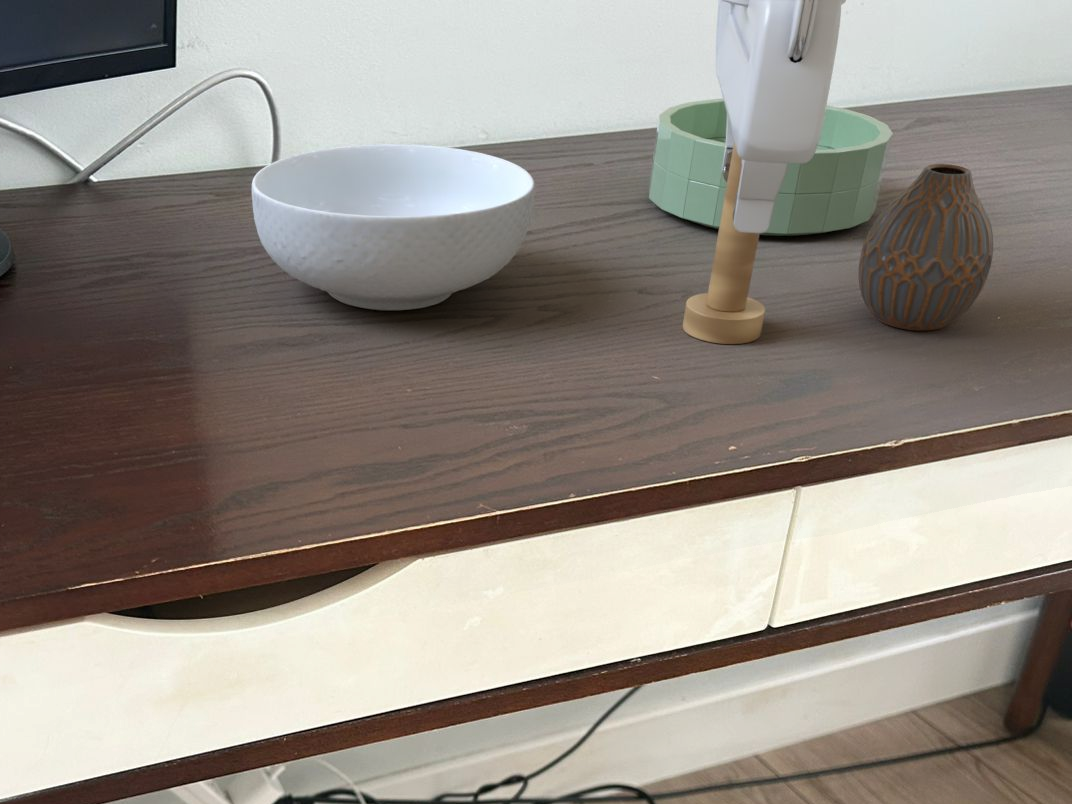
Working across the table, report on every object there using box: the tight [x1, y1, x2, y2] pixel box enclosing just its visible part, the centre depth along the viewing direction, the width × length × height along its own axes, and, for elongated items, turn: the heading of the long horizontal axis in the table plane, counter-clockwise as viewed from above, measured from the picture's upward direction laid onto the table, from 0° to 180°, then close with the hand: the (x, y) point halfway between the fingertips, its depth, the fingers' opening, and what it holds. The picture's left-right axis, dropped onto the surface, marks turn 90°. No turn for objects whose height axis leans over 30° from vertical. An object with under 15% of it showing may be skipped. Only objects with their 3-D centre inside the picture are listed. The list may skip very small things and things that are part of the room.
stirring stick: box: [682, 57, 795, 345], centre depth 75 cm, size 4×4×16 cm
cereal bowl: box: [251, 143, 536, 311], centre depth 84 cm, size 17×17×7 cm
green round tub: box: [648, 98, 894, 237], centre depth 98 cm, size 16×16×6 cm
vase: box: [858, 163, 994, 332], centre depth 79 cm, size 7×7×9 cm
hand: (742, 203), depth 76 cm, fingers open, 8 cm apart
